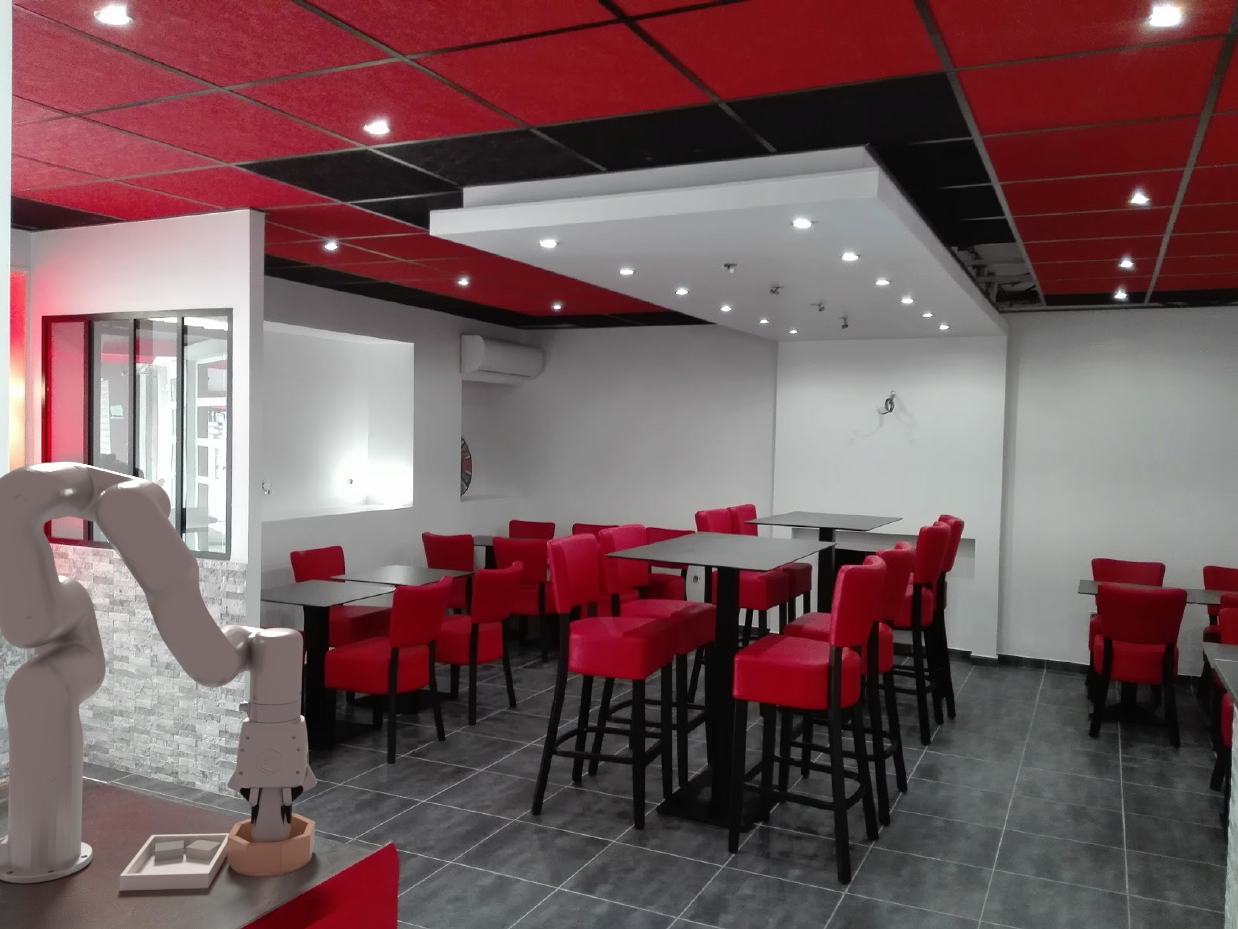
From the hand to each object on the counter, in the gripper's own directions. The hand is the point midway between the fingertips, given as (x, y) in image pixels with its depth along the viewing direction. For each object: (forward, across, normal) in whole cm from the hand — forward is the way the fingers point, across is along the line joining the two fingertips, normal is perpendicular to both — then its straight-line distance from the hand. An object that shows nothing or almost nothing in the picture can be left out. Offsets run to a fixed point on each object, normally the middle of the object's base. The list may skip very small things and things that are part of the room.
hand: (271, 827), depth 150 cm
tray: (+5, -13, -2) cm, 14 cm away
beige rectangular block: (+5, -10, +2) cm, 12 cm away
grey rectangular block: (+5, -15, +2) cm, 16 cm away
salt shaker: (+3, 0, 0) cm, 3 cm away
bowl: (+5, 0, 0) cm, 5 cm away
